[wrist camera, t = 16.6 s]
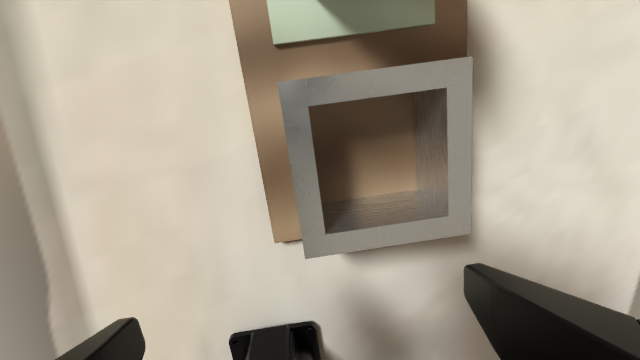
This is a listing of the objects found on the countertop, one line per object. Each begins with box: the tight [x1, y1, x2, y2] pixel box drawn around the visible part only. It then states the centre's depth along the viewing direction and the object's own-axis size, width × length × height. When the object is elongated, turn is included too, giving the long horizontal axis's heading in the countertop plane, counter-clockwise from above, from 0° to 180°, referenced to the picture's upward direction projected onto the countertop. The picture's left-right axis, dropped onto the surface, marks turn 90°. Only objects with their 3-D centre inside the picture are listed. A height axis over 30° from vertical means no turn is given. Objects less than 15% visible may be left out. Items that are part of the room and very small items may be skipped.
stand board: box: [229, 0, 467, 243], centre depth 18 cm, size 22×13×1 cm, turn 7°
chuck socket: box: [277, 56, 473, 259], centre depth 17 cm, size 9×9×4 cm
